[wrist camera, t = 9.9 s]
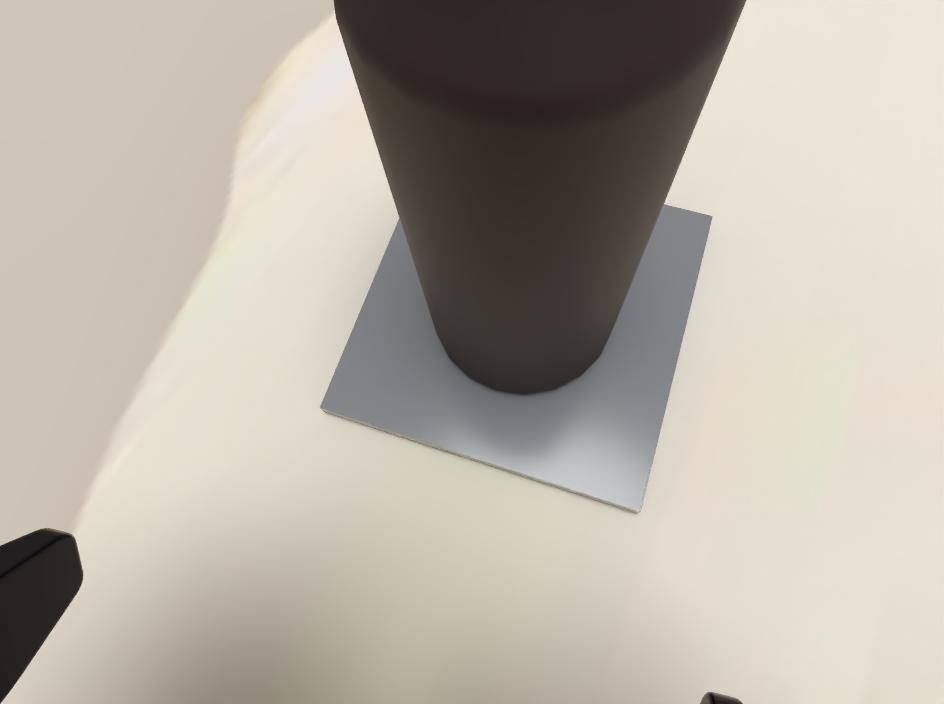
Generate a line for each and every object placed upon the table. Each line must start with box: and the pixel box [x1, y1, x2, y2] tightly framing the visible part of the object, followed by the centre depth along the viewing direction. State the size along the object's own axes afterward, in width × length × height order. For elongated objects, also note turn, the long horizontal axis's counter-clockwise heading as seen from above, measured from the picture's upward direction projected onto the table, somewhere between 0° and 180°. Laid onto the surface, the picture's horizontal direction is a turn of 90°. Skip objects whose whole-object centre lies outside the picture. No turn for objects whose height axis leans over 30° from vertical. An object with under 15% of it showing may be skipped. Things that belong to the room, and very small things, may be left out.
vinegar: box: [334, 0, 746, 394], centre depth 15 cm, size 7×7×20 cm
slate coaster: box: [320, 204, 712, 513], centre depth 24 cm, size 12×12×1 cm
